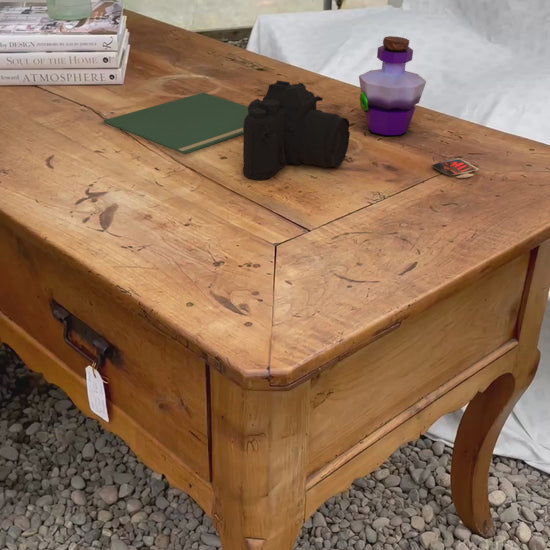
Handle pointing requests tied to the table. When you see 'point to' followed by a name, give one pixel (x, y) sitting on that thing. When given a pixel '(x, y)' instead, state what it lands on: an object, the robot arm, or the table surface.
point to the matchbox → (455, 167)
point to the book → (186, 122)
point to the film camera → (291, 132)
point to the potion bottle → (391, 90)
